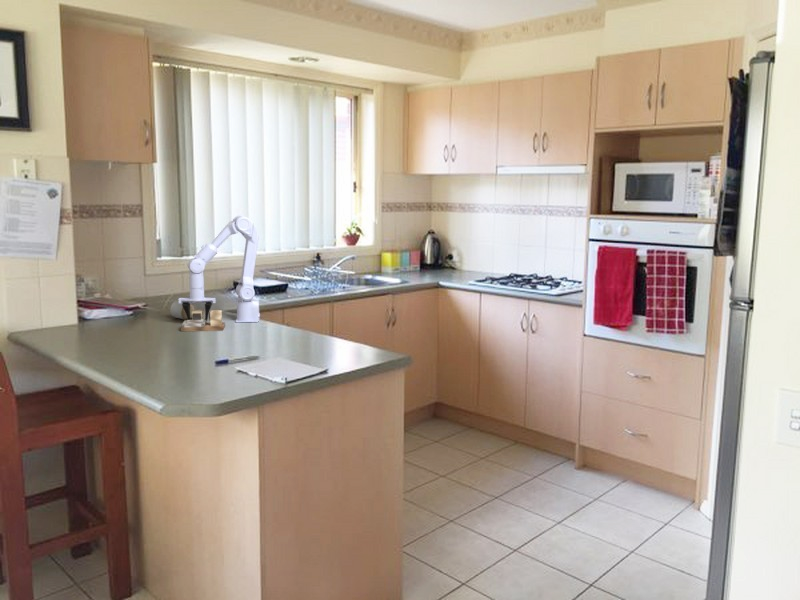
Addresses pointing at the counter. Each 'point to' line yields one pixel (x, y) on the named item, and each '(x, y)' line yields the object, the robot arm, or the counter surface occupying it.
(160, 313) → the counter surface
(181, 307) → the ceramic mug
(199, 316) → the tan square block
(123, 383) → the counter surface
